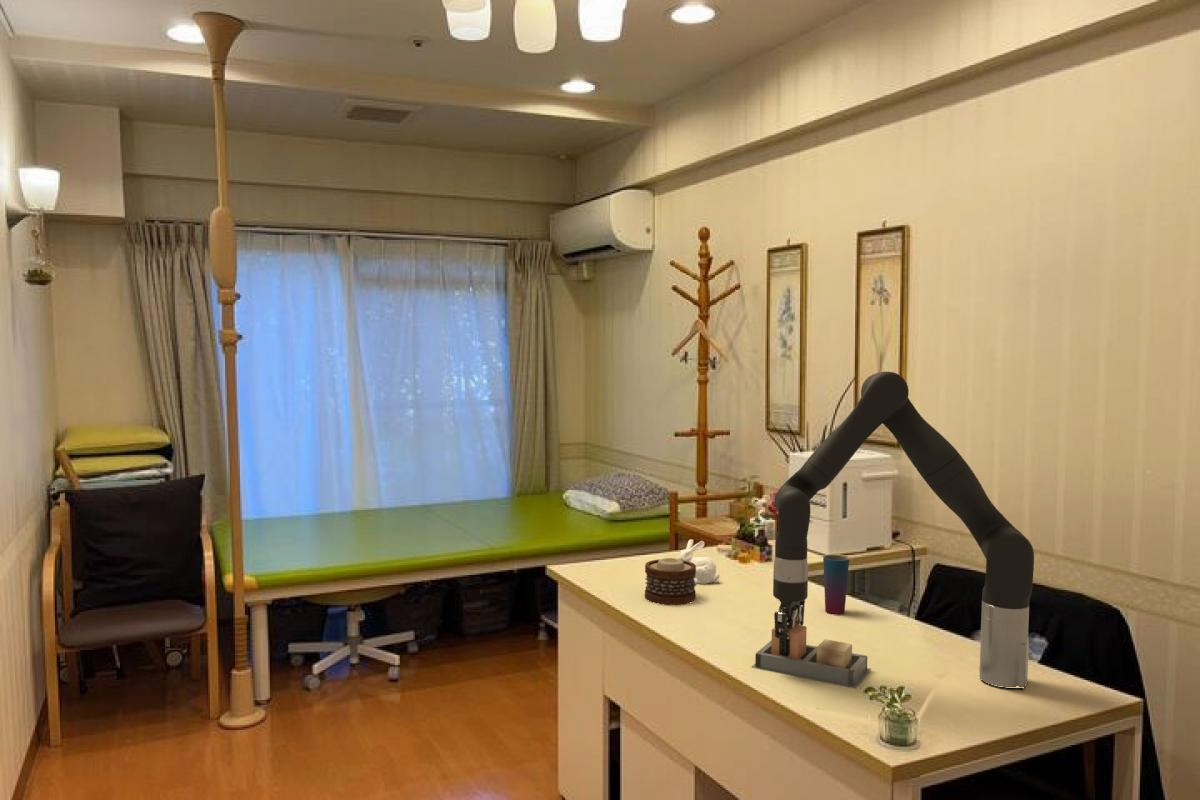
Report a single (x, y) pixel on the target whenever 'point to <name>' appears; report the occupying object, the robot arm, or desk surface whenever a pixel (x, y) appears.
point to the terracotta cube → (792, 642)
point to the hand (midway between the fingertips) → (789, 650)
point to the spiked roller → (670, 581)
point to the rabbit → (700, 564)
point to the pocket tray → (812, 667)
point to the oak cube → (835, 654)
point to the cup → (835, 582)
